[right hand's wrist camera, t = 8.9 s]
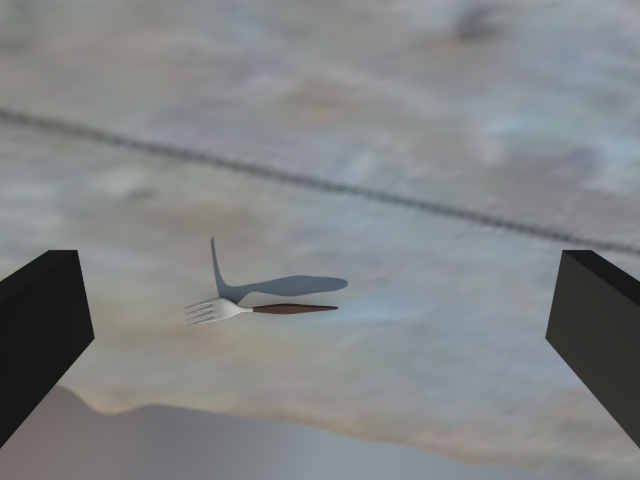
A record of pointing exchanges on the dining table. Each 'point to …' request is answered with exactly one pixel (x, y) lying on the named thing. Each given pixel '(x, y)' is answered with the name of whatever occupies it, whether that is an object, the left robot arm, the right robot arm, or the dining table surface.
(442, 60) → the dining table surface
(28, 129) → the dining table surface
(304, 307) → the fork
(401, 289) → the dining table surface
